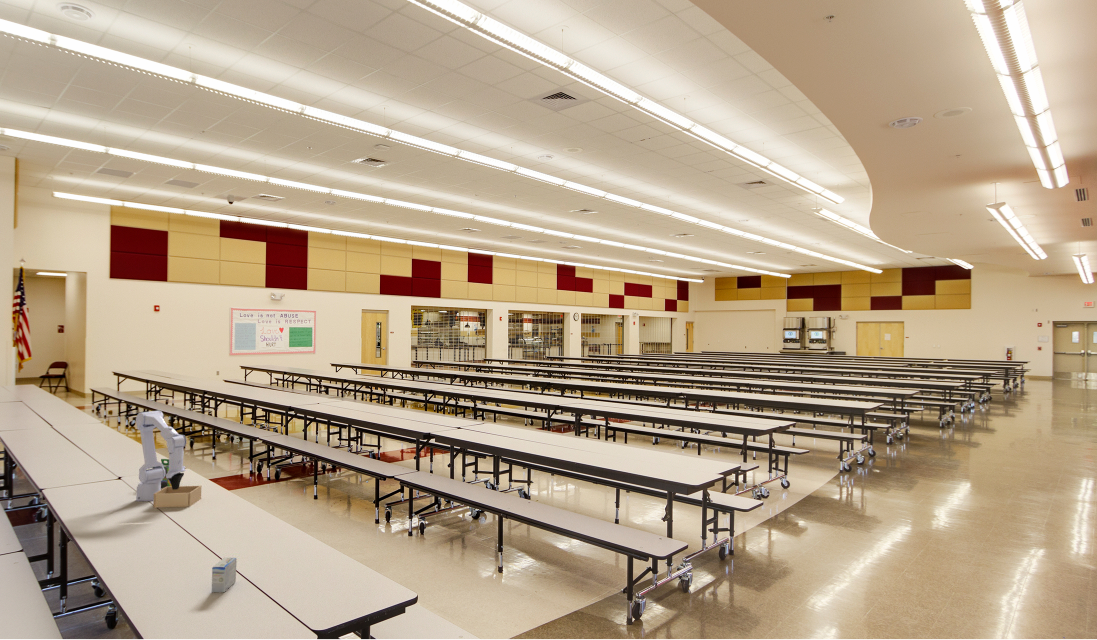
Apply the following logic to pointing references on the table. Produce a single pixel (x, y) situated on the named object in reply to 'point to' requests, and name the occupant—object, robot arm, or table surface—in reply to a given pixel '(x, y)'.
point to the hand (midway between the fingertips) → (175, 489)
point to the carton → (192, 490)
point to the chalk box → (165, 481)
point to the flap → (172, 500)
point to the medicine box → (223, 575)
